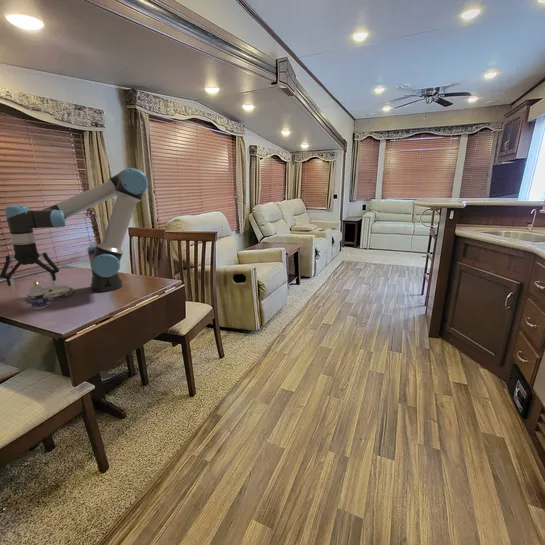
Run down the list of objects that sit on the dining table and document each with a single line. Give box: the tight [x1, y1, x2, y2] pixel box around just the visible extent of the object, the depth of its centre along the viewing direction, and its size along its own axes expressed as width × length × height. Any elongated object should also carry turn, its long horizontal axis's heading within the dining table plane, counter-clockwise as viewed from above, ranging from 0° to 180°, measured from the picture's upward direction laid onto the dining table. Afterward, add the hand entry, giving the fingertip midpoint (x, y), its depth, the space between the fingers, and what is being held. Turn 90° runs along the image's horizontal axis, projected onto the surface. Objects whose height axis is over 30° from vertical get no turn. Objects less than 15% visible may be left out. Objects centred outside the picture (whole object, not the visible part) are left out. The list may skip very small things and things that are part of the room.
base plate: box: [28, 290, 74, 303], centre depth 147 cm, size 18×18×1 cm
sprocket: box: [26, 280, 74, 300], centre depth 146 cm, size 18×18×7 cm
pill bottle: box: [28, 285, 48, 310], centre depth 132 cm, size 5×5×10 cm
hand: (34, 290), depth 130 cm, fingers open, 13 cm apart
